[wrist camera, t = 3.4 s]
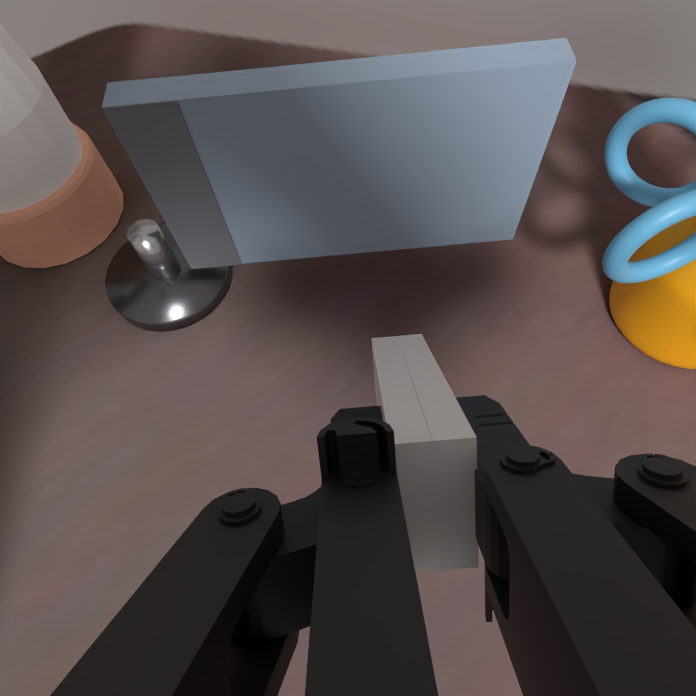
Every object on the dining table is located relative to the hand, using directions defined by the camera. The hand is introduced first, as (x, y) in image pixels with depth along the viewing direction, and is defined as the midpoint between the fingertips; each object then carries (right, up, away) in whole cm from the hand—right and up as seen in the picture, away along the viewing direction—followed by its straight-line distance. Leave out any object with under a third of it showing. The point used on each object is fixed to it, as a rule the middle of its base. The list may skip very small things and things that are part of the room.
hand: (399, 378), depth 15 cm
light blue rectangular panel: (-1, +6, +8) cm, 10 cm away
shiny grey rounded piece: (-10, +4, +10) cm, 15 cm away
